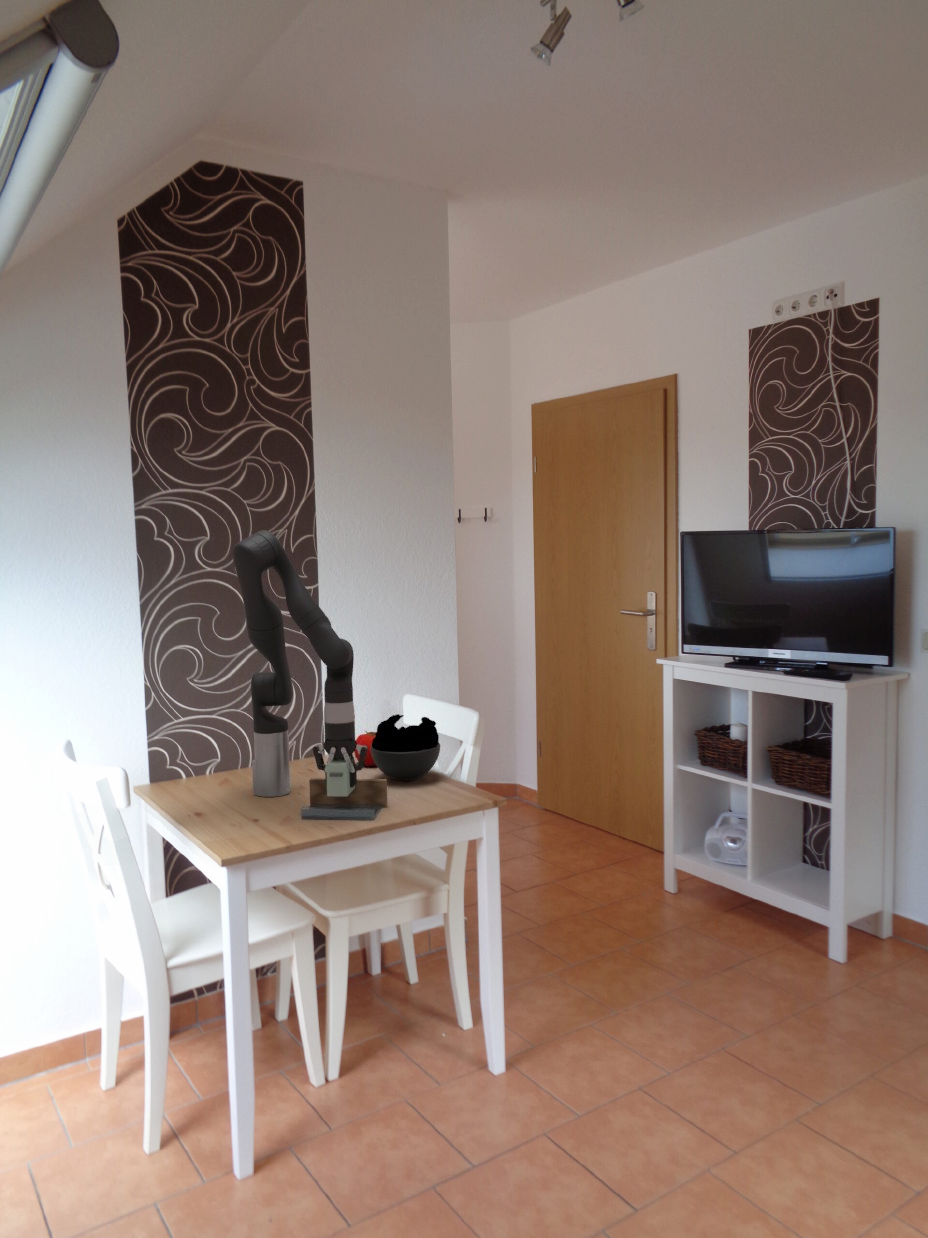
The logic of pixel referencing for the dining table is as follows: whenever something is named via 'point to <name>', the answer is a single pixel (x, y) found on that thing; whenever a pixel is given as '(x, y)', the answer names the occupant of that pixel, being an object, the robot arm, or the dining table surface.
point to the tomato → (366, 740)
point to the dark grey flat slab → (341, 811)
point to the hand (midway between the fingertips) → (341, 786)
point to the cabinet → (338, 778)
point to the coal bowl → (405, 748)
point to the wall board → (362, 793)
